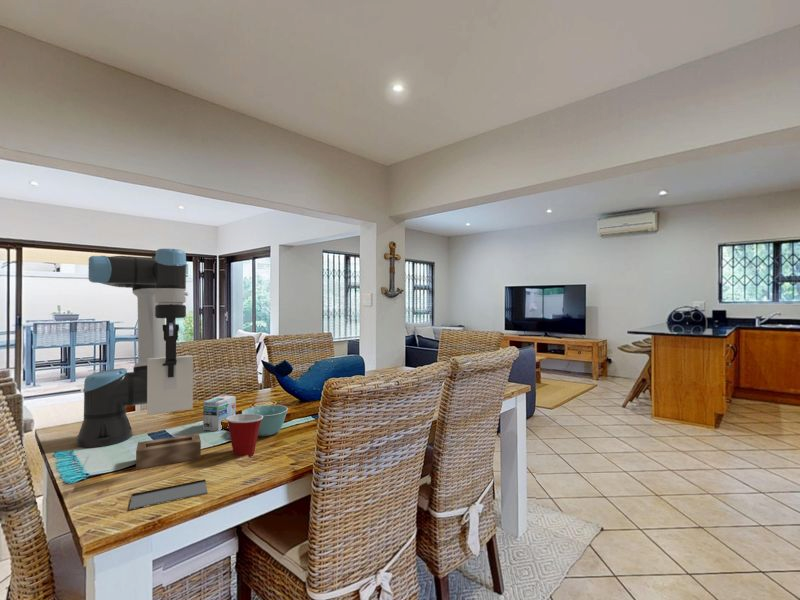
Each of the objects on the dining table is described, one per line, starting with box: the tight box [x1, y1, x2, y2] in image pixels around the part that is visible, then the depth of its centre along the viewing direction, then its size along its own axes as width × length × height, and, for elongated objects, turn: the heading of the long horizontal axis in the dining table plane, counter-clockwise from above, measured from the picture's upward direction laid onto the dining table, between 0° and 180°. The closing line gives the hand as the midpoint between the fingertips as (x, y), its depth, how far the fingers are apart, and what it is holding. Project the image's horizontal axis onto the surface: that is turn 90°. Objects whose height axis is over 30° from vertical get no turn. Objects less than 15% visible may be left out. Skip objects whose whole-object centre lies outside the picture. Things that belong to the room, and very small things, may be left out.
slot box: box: [135, 432, 202, 471], centre depth 117 cm, size 16×8×6 cm, turn 120°
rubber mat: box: [129, 479, 208, 511], centre depth 103 cm, size 16×20×1 cm
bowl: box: [241, 404, 289, 437], centre depth 144 cm, size 16×16×8 cm
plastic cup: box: [226, 413, 263, 458], centre depth 123 cm, size 11×11×12 cm
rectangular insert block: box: [146, 355, 194, 415], centre depth 112 cm, size 11×2×15 cm, turn 121°
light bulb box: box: [202, 394, 237, 432], centre depth 150 cm, size 11×7×11 cm, turn 168°
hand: (170, 387), depth 112 cm, fingers closed on rectangular insert block, 2 cm apart
